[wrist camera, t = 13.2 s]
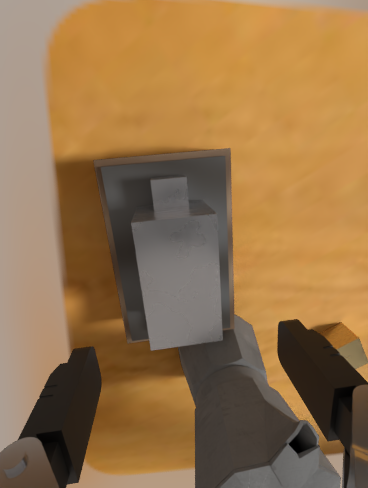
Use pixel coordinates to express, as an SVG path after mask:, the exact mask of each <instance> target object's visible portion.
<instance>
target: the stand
mask: <svg viewBox="0 0 368 488" xmlns="http://www.w3.org/2000/svg"><path fill="white" fill-rule="evenodd" d="M93 161H94V166H95V172H96V177H97V182H98V188H99V193H100V198H101V204H102V209H103V214H104V220H105V225H106V230H107V236H108V241H109V247H110V252H111V257H112V263H113V268H114V273H115V279H116V284H117V289H118V295H119V300H120V305H121V311H122V316H123V321H124V327H125V332H126V337H127V343H135V342H142V341H149V335H148V329H147V322H146V316H145V309H144V303H143V296H142V290H141V283H140V277H139V271H138V264H137V258H136V251H135V245H134V238H133V232H132V225H131V222H132V219H133V216H134V214H135V211H136V208H137V207H142V206H152V205H153V197H152V189H151V181H150V180H151V178H157V177H168V176H178V175H184V176H186V177H187V188H188V201H189V202H191V201H200V200H203V201H204V202H205V203H206V204H207V205H208V206H209V207H210V208H212V209H213V210H214V211H215V212H216V213H217V219H218V242H219V265H220V288H221V311H222V330H229V329H235V325H234V281H233V238H232V195H231V152H230V148H227V149H216V150H204V151H193V152H181V153H170V154H158V155H147V156H135V157H124V158H112V159H101V160H93Z"/></svg>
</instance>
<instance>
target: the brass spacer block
mask: <svg viewBox="0 0 368 488" xmlns="http://www.w3.org/2000/svg"><path fill="white" fill-rule="evenodd" d="M319 334H321V335H322V336H324V337H325V338H326V339H327V340H328V341H329V342H330V343H331V344H332V345H333V348H334V347H335V349H336V350H337V351H338V352H339V353H340V355H342V356H343V357H344V358H345V359H346V360H347V361H348V362H349V363H350V364H351V365H352V366H353V368H354V369H357V368H359V367H361V366H363V365H365V364H367V363H368V360H367V357H366V355H365V352H364V350H363V347H362V344H361V342H360V339H359V338H358V337H357V336H356V335H355V334H354V333H353V332H352V331H351V330H349V329H348V328H347V327H346V326H345V325H344V324H343V323H342V322H341V323H339V324H337V325H335V326H333V327H331V328H329V329H327V330H325V331H323V332H321V333H319Z"/></svg>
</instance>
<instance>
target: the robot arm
mask: <svg viewBox="0 0 368 488" xmlns="http://www.w3.org/2000/svg"><path fill="white" fill-rule="evenodd" d="M277 351H278V357H279V360H280V363H281V365H282V367H283V369H284V370H285V372H286V373H287V375H288V377H289V378H290V380H291V382H292V383H293V385H294V387H295V388H296V390H297V392H298V393H299V395H300V397H301V398H302V400H303V402H304V403H305V405H306V406H307V408H308V410H309V411H310V413H311V415H312V416H313V418H314V420H315V421H316V423H317V425H318V426H319V428H320V430H321V431H322V433H323V435H324V436H325V438H326V439H327V441H333V440H340V441H341V443H342V444H343V446H344V453H343V480H342V488H368V382H367V381H366V380H365V379H364V378H363V377H362V376H361V375H360V374H359V373H358V372H357V371H356V370H355V369H354V368H353V366H352V365H351V364H350V363H349V362H348V361H347V360H346V359H345V358H344V357H343V356H342V355H340V353H339V352H338V351H337V350H336V349H335V347H334V348H333V345H332V344H331V343H330V342H329V341H328V340H327V339H326V338H325V337H324V336H322V335H321V334H319V333H317V332H316V331H314V330H307V329H306V328H305V327H304V325H303V324H302V323H301V322H300V321H299V320H297V319H294V320H287V321H280V322H279V324H278V348H277ZM44 387H45V388H44V389H43V391H42V392H41V394H40V398H39V399H38V400H37V402H36V405H35V406H34V409H33V410H32V413H31V415H30V417H29V419H28V421H27V423H26V425H25V427H24V429H23V431H22V433H21V435H20V437H19V439H18V440H17V441H15V442H13V443H12V444H10V445H9V446H7V447H6V448H5V449H4V450H3V451H1V452H0V488H66V485H67V484H73V483H78V482H79V478H80V474H81V470H82V466H83V462H84V458H85V454H86V450H87V445H88V441H89V437H90V433H91V429H92V425H93V421H94V417H95V412H96V408H97V404H98V400H99V396H100V392H101V374H100V369H99V365H98V361H97V357H96V352H95V349H94V347H93V346H92V347H84V348H77V349H74V350H73V351H72V353H71V356H70V358H69V360H68V363H63V364H60V365H59V366H58V367H57V368H56V369H55V370H54V371H53V373H51V375H50V376H49V379H48V381H47V382H46V384H45V386H44Z"/></svg>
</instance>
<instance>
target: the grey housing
mask: <svg viewBox="0 0 368 488" xmlns="http://www.w3.org/2000/svg"><path fill="white" fill-rule="evenodd" d="M150 181H151V189H152V197H153V205H152V206H142V207H137V208H136V211H135V214H134V216H133V219H132V222H131V225H132V232H133V238H134V245H135V251H136V258H137V264H138V271H139V277H140V283H141V290H142V296H143V303H144V309H145V316H146V322H147V329H148V335H149V341H150V348H151V351H152V350H159V349H166V348H173V347H180V346H187V345H194V344H201V343H208V342H215V341H222V340H223V334H222V311H221V288H220V265H219V242H218V219H217V213H216V212H215V211H214V210H213V209H212V208H210V207H209V206H208V205H207V204H206V203H205V202H204V201H203V200H200V201H191V202H189V201H188V188H187V177H186V176H184V175H178V176H168V177H157V178H151V180H150Z"/></svg>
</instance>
